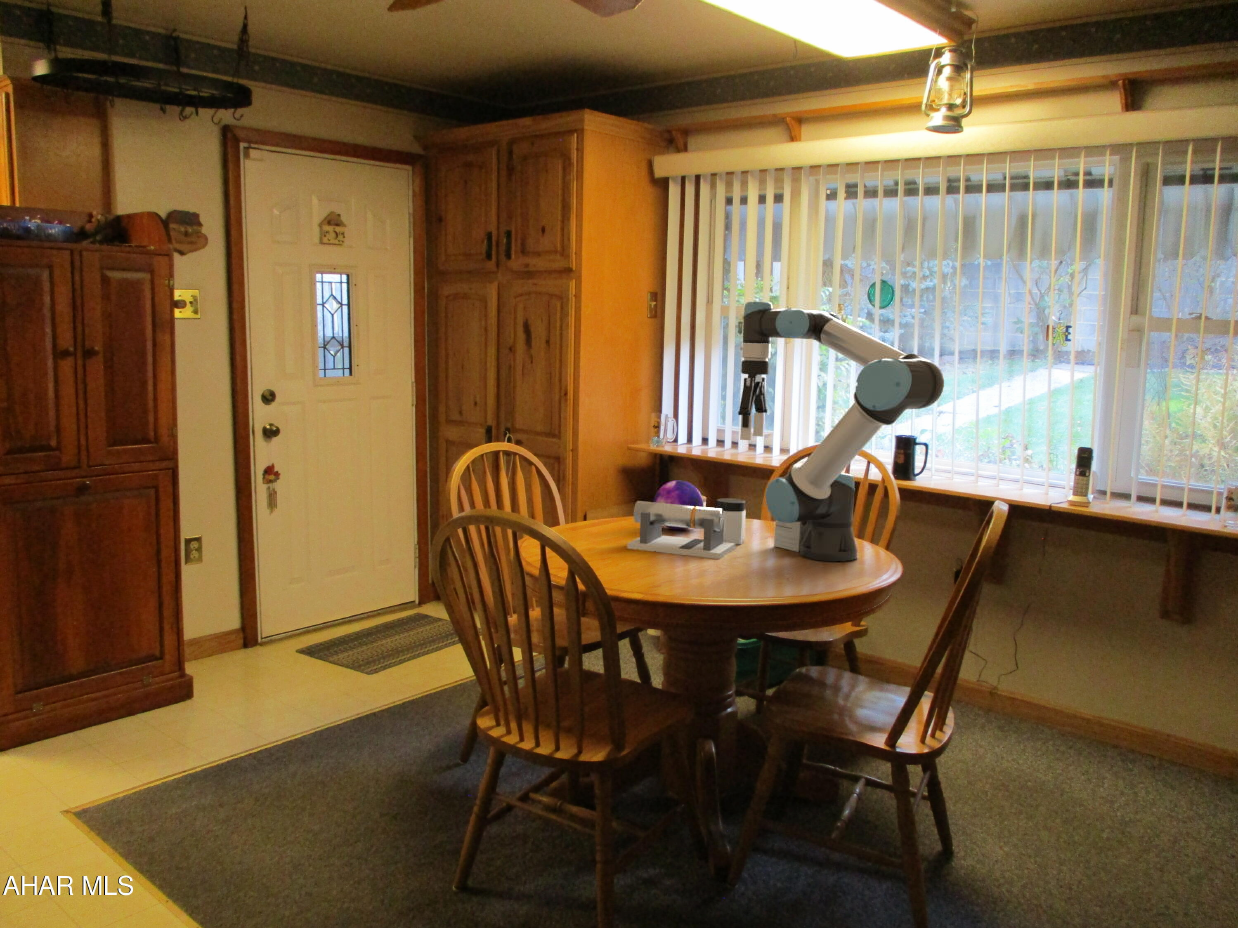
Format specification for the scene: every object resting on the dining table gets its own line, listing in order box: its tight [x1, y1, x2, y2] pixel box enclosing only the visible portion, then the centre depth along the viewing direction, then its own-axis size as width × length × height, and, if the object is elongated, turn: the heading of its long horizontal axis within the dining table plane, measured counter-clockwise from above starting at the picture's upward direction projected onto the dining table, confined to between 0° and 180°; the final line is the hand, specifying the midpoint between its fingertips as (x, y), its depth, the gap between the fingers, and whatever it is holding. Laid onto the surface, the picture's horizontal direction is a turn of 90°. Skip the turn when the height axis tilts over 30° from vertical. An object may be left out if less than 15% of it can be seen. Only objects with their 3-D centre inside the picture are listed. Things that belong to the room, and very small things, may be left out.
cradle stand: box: [626, 511, 736, 560], centre depth 262 cm, size 26×15×10 cm, turn 68°
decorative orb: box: [653, 479, 703, 531], centre depth 290 cm, size 15×15×15 cm
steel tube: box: [633, 500, 724, 531], centre depth 262 cm, size 24×6×6 cm, turn 68°
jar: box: [716, 497, 747, 545], centre depth 274 cm, size 9×8×12 cm
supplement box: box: [773, 518, 808, 553], centre depth 268 cm, size 10×9×17 cm
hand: (751, 438), depth 262 cm, fingers open, 13 cm apart
